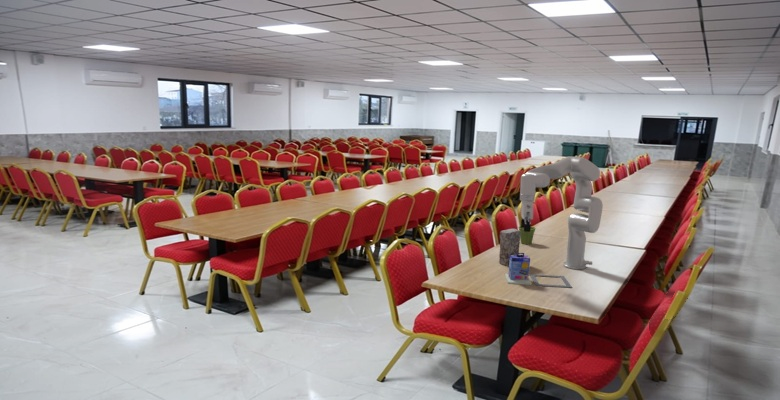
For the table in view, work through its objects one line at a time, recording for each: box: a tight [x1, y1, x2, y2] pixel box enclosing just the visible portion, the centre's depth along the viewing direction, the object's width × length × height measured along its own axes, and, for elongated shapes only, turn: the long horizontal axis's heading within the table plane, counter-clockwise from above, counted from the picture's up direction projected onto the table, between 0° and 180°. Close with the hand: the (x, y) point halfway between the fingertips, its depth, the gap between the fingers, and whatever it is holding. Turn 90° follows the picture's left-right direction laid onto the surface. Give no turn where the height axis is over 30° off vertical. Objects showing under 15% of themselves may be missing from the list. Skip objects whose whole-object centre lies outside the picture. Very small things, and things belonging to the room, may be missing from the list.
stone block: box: [498, 228, 521, 266], centre depth 282 cm, size 13×7×20 cm, turn 135°
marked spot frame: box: [529, 273, 573, 289], centre depth 253 cm, size 18×18×1 cm
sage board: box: [504, 273, 533, 286], centre depth 253 cm, size 12×14×1 cm
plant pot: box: [518, 225, 537, 245], centre depth 330 cm, size 12×12×11 cm
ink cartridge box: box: [508, 252, 531, 280], centre depth 252 cm, size 10×6×14 cm, turn 91°
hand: (525, 229), depth 252 cm, fingers open, 9 cm apart
